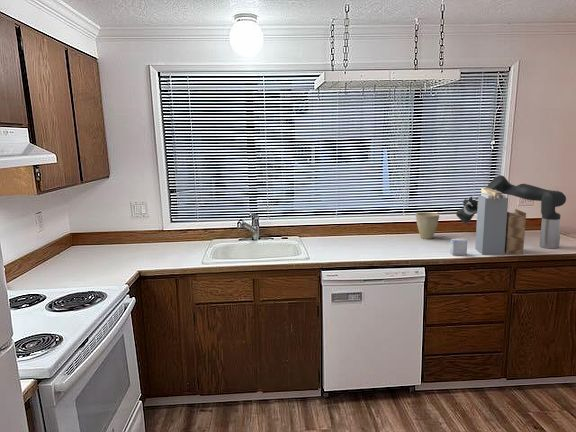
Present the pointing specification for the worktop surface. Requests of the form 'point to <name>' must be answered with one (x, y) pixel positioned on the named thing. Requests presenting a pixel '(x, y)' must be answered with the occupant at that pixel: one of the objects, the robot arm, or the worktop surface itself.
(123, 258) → the worktop surface
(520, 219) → the block
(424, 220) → the plant pot
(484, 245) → the slot column
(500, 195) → the bar
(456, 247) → the medicine box
